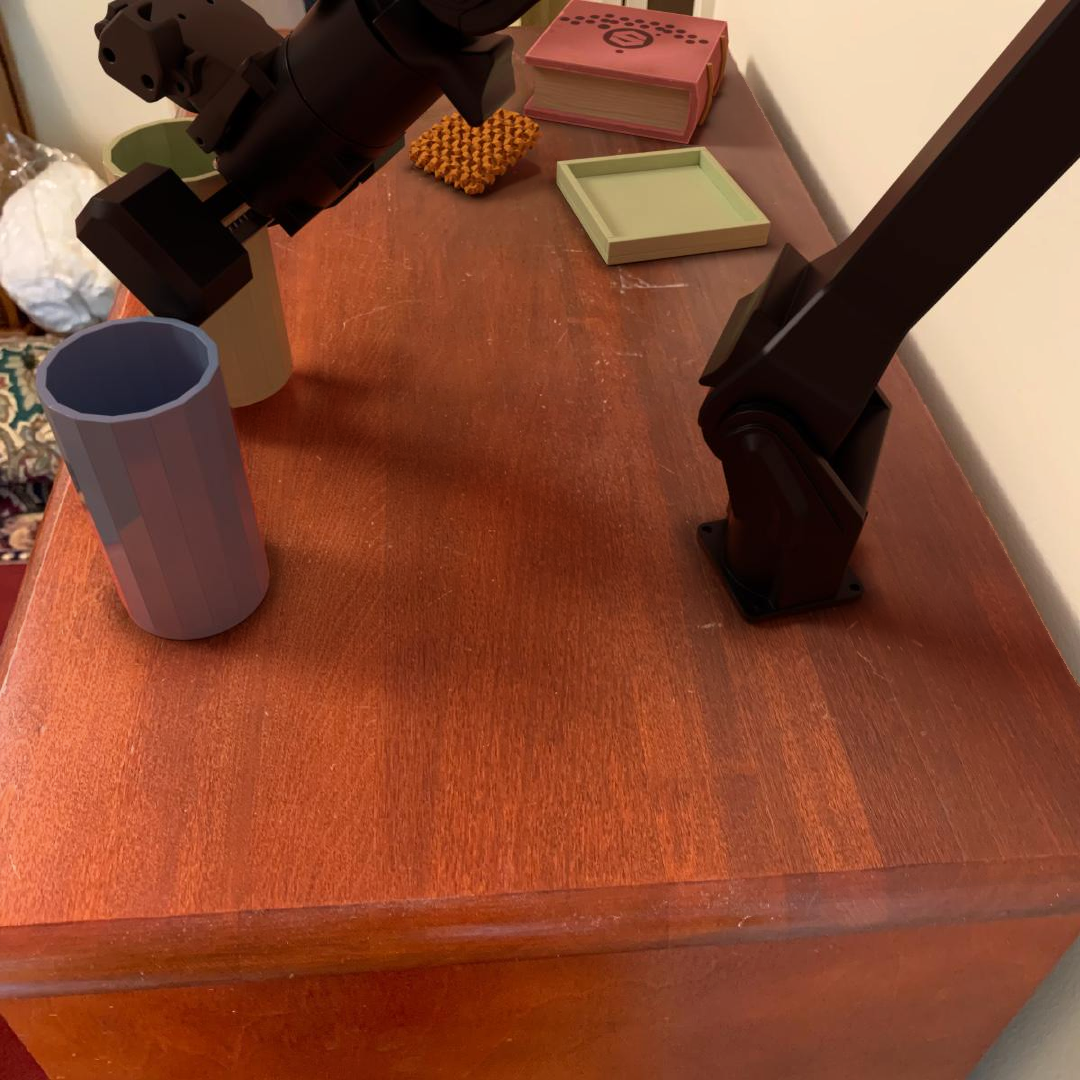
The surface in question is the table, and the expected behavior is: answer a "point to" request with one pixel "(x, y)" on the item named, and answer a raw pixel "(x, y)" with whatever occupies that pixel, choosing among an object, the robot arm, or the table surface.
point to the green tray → (660, 205)
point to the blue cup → (159, 471)
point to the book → (627, 70)
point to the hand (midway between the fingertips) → (184, 261)
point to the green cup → (256, 310)
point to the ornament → (474, 148)
